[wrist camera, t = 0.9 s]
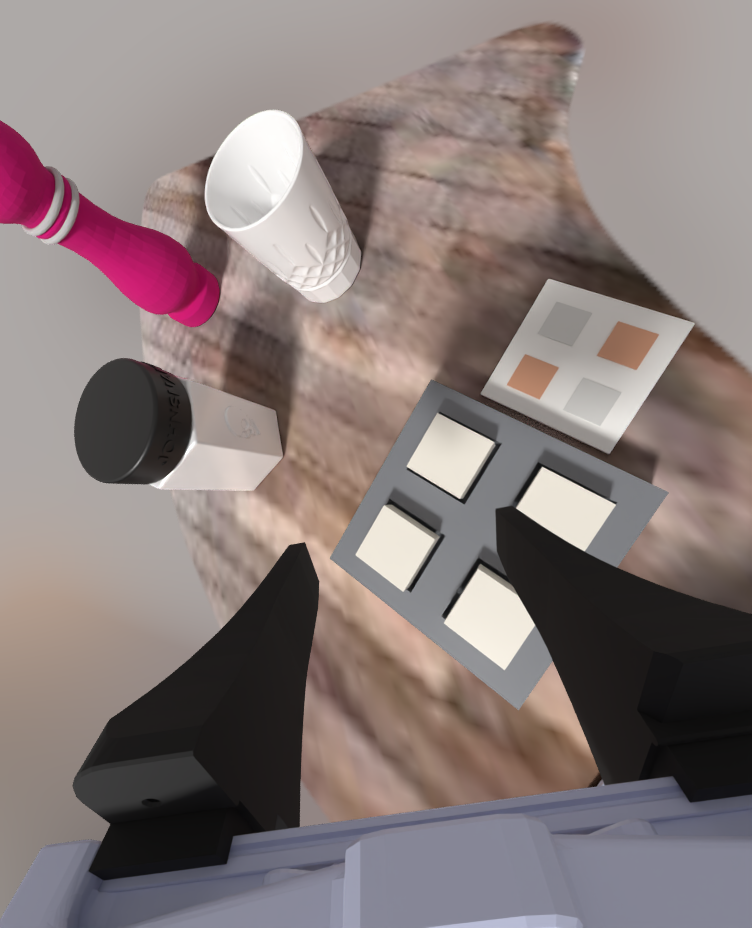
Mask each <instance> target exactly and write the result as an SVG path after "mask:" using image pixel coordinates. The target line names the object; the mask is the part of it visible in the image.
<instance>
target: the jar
mask: <svg viewBox="0 0 752 928" xmlns="http://www.w3.org/2000/svg"><path fill="white" fill-rule="evenodd" d="M74 437H75V446H76V451H77V454H78V457H79V460H80V462H81V464H82V466H83V468H84V469H85V470H86V472H87V473H88V474H89V475H90V476H91V477H93V478H94V479H96V480H98V481H100V482H103V483H113V484H114V483H116V484H149V485H151V486H153V487H155V488H158V489H173V490H236V491H253V490H255V488H256V487H257V486H258V485H259V484H260V483H261V482H262V480H263V479H264V478H265V477H266V476H267V475H268V474H269V472H270V471H271V470H272V469H273V468H274V467H275V466H276V465H277V463H278V462H279V461H280V460H281V459H282V458H283V452H282V446H281V440H280V434H279V428H278V422H277V416H276V411H275V410H273V409H270V408H268V407H265V406H262V405H259V404H257V403H254V402H251V401H248V400H245V399H243V398H240V397H237V396H234V395H232V394H229V393H226V392H223V391H220V390H218V389H215V388H212V387H209V386H207V385H204V384H201V383H198V382H195V381H193V380H190V379H186V378H182V377H178V376H174V375H173V374H171V373H169V372H167V371H164V370H162V369H161V368H158V367H156V366H153V365H151V364H148V363H145V362H139V361H136V360H133V359H128V358H120V359H116V360H113V361H110V362H108V363H107V364H105V365H104V366H103V367H101V368H100V369H99V370H98V371H97V372H96V373H95V374H94V375H93V376H92V378H91V379H90V381H89V382H88V384H87V386H86V387H85V389H84V391H83V393H82V396H81V398H80V401H79V404H78V408H77V412H76V417H75V426H74Z"/></svg>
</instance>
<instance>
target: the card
mask: <svg viewBox="0 0 752 928" xmlns="http://www.w3.org/2000/svg"><path fill="white" fill-rule="evenodd" d="M694 324H695V323H693V322H690V321H686V320H683V319H680V318H677V317H673V316H670V315H667V314H663V313H660V312H657V311H654V310H650V309H647V308H644V307H640V306H637V305H634V304H631V303H627V302H624V301H621V300H617V299H614V298H611V297H607V296H604V295H601V294H598V293H594V292H591V291H588V290H584V289H581V288H578V287H575V286H571V285H568V284H565V283H561V282H558V281H555V280H552V279H548V280H547V282H546V284H545V285H544V287H543V289H542V290H541V292H540V294H539V295H538V297H537V299H536V300H535V302H534V304H533V306H532V307H531V309H530V311H529V312H528V314H527V316H526V317H525V319H524V321H523V322H522V324H521V326H520V328H519V329H518V331H517V333H516V334H515V336H514V338H513V339H512V341H511V343H510V345H509V346H508V348H507V350H506V351H505V353H504V355H503V356H502V358H501V360H500V361H499V363H498V365H497V367H496V368H495V370H494V372H493V373H492V375H491V377H490V378H489V380H488V382H487V383H486V385H485V387H484V389H483V390H482V392H481V395H482V396H484V397H486V398H488V399H490V400H493V401H495V402H497V403H499V404H501V405H503V406H505V407H508V408H510V409H512V410H514V411H516V412H518V413H520V414H523V415H525V416H527V417H529V418H531V419H533V420H535V421H538V422H540V423H542V424H544V425H546V426H548V427H550V428H553V429H555V430H557V431H559V432H561V433H563V434H565V435H568V436H570V437H572V438H574V439H576V440H578V441H580V442H583V443H585V444H587V445H589V446H591V447H593V448H595V449H598V450H600V451H602V452H604V453H606V454H610V452H611V451H612V449H613V448H614V446H615V445H616V443H617V442H618V440H619V439H620V437H621V436H622V434H623V433H624V431H625V430H626V428H627V427H628V425H629V424H630V422H631V420H632V419H633V417H634V416H635V414H636V413H637V411H638V410H639V408H640V407H641V405H642V404H643V402H644V401H645V399H646V398H647V396H648V395H649V393H650V391H651V390H652V388H653V387H654V385H655V384H656V382H657V381H658V379H659V378H660V376H661V375H662V373H663V372H664V370H665V369H666V367H667V366H668V364H669V363H670V361H671V359H672V358H673V356H674V355H675V353H676V352H677V350H678V349H679V347H680V346H681V344H682V343H683V341H684V340H685V338H686V337H687V335H688V334H689V332H690V331H691V329H692V327H693V326H694Z"/></svg>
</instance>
